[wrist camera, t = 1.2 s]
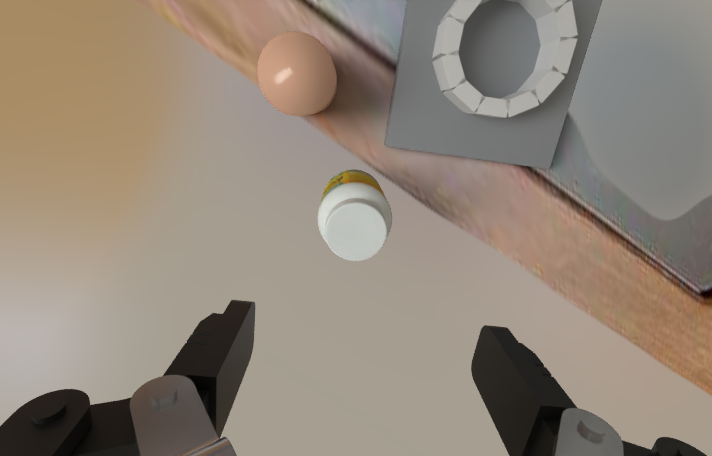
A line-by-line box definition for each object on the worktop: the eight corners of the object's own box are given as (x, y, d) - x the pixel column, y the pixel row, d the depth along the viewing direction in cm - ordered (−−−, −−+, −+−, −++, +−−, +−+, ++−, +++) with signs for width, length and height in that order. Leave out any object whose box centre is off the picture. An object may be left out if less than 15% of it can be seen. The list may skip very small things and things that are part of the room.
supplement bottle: (367, 235, 32) (375, 283, 23) (313, 212, 31) (300, 253, 22) (393, 183, 31) (412, 213, 22) (337, 157, 30) (334, 178, 21)
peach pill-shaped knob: (273, 110, 29) (255, 110, 23) (277, 43, 27) (259, 25, 21) (333, 118, 29) (330, 121, 23) (341, 53, 27) (340, 38, 22)
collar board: (384, 144, 30) (389, 149, 26) (420, -84, 25) (433, -119, 21) (539, 166, 31) (567, 174, 27) (605, -49, 26) (650, -77, 22)
